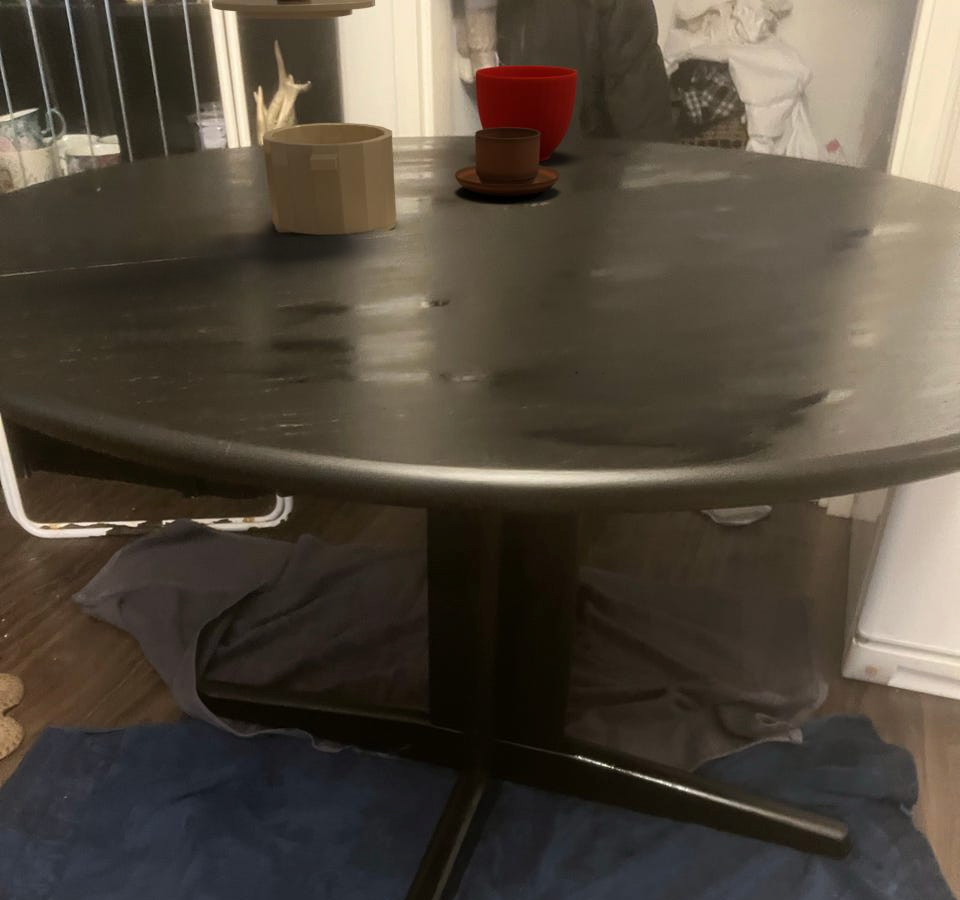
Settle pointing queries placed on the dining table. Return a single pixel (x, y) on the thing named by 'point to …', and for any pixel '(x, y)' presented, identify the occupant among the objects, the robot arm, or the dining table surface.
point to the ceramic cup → (528, 100)
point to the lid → (291, 8)
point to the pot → (331, 178)
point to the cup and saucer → (507, 164)
